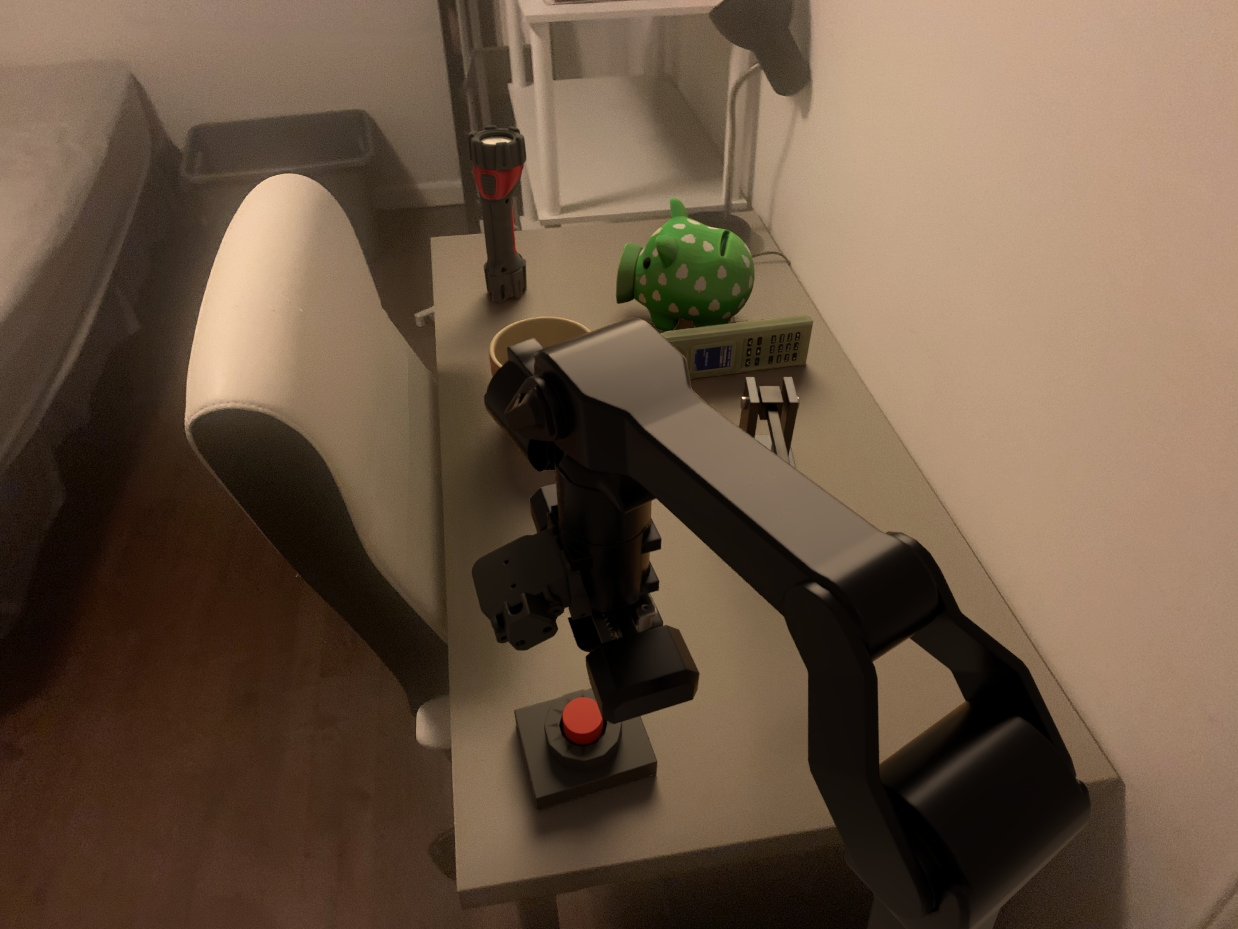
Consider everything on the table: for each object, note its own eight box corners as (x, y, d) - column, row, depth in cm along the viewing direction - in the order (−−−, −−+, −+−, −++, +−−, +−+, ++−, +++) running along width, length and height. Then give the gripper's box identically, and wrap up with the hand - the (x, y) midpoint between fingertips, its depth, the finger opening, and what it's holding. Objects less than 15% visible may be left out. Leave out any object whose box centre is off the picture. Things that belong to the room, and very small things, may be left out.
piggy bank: (632, 286, 121) (633, 190, 111) (752, 299, 118) (765, 202, 108) (612, 339, 111) (611, 239, 101) (743, 354, 108) (756, 253, 98)
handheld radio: (808, 367, 106) (623, 392, 102) (799, 354, 108) (618, 377, 105) (816, 323, 102) (623, 347, 98) (806, 311, 104) (617, 333, 100)
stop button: (596, 703, 66) (596, 692, 65) (608, 738, 64) (607, 727, 63) (559, 714, 65) (558, 703, 64) (569, 749, 63) (568, 739, 62)
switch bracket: (800, 502, 88) (819, 420, 80) (727, 502, 88) (738, 420, 80) (786, 442, 95) (802, 361, 87) (719, 442, 95) (728, 361, 87)
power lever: (826, 600, 68) (833, 576, 66) (788, 600, 68) (794, 576, 66) (780, 406, 87) (784, 382, 85) (751, 406, 87) (754, 382, 85)
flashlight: (527, 270, 125) (513, 119, 109) (543, 294, 120) (532, 139, 104) (478, 280, 123) (458, 127, 107) (493, 305, 117) (474, 148, 102)
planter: (606, 447, 95) (605, 372, 87) (500, 458, 93) (490, 383, 86) (592, 384, 103) (590, 311, 96) (496, 393, 102) (486, 320, 95)
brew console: (626, 691, 71) (626, 666, 68) (656, 774, 65) (658, 751, 63) (515, 723, 69) (511, 698, 66) (537, 811, 63) (533, 788, 61)
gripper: (447, 442, 54) (476, 587, 64) (510, 674, 41) (532, 807, 51) (605, 409, 56) (608, 554, 67) (711, 616, 43) (693, 755, 54)
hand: (607, 654), depth 60 cm, fingers closed
